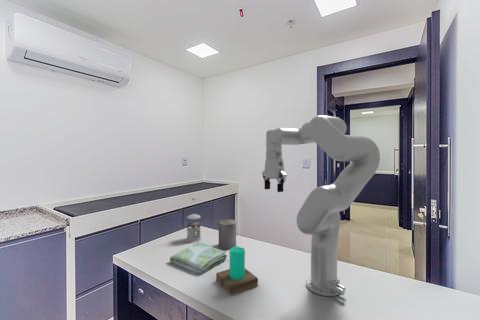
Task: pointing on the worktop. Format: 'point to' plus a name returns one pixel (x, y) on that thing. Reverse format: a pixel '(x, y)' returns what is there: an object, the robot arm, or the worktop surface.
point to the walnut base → (236, 282)
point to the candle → (237, 263)
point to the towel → (198, 257)
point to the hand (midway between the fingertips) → (273, 190)
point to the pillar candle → (227, 233)
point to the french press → (193, 229)
